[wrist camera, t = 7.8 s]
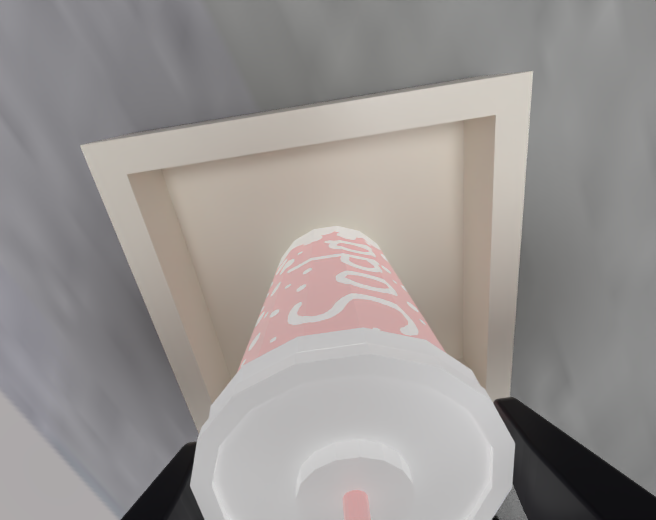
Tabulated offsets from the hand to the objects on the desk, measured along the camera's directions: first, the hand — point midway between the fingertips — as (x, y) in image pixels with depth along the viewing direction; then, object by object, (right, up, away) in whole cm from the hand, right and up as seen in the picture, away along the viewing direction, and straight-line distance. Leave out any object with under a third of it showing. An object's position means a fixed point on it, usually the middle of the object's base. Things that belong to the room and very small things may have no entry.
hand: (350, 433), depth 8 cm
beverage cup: (0, +3, +7) cm, 8 cm away
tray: (0, +4, +8) cm, 9 cm away
